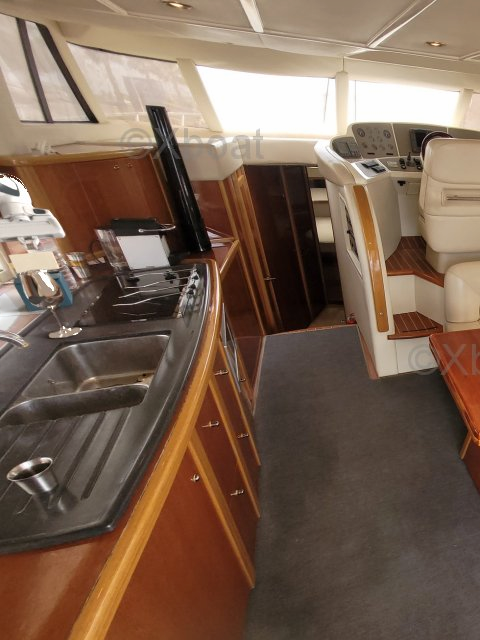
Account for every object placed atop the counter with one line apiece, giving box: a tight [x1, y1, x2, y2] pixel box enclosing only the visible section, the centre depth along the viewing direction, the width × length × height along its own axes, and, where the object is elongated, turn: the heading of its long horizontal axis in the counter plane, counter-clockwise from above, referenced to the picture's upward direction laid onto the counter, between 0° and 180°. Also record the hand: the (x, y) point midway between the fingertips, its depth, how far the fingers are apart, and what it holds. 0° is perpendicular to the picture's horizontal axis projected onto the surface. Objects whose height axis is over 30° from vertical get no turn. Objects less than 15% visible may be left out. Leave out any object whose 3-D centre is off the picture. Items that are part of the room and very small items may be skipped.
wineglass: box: [19, 269, 82, 339], centre depth 118 cm, size 8×8×20 cm
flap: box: [8, 250, 60, 274], centre depth 140 cm, size 6×11×1 cm
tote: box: [12, 270, 73, 312], centre depth 140 cm, size 13×11×10 cm
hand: (32, 248), depth 144 cm, fingers closed
